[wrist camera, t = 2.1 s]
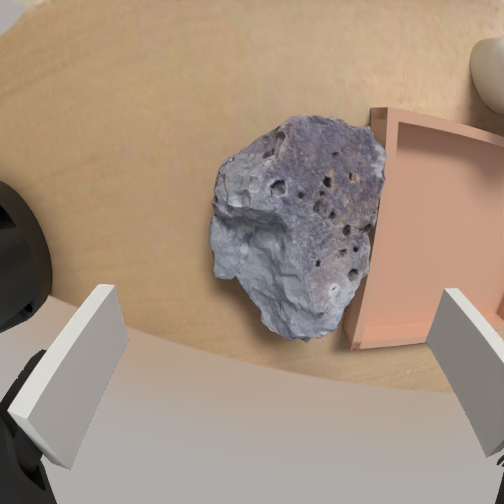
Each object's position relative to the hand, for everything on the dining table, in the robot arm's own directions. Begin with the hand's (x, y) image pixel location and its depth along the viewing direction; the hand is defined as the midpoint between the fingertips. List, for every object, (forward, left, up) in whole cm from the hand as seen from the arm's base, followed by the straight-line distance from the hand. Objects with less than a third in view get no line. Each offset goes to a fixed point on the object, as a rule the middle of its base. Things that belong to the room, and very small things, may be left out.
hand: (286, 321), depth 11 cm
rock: (+1, 0, -13) cm, 13 cm away
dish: (+17, -1, -12) cm, 21 cm away
